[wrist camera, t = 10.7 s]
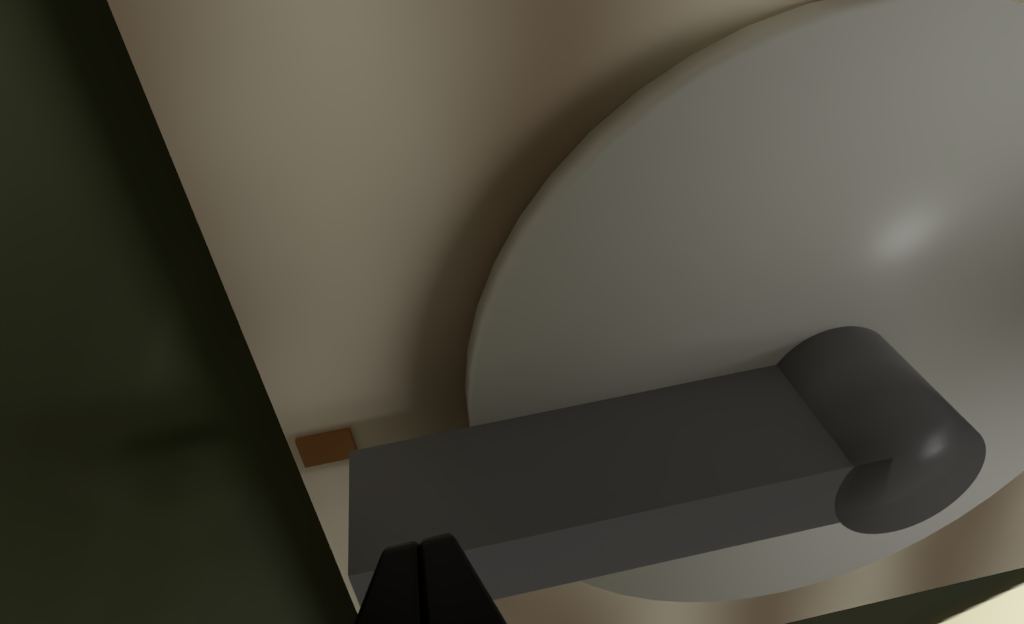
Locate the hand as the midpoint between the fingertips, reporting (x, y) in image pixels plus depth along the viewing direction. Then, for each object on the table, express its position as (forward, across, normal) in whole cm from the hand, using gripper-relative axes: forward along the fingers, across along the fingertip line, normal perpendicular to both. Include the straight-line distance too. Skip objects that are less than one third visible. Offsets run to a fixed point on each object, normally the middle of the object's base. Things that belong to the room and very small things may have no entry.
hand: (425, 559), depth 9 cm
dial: (+6, -8, +4) cm, 11 cm away
